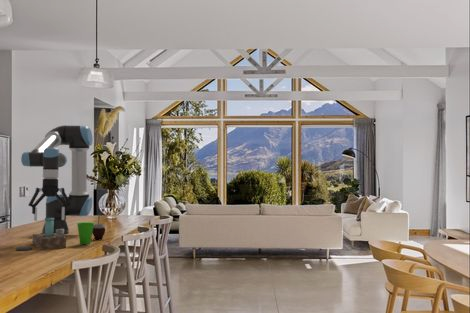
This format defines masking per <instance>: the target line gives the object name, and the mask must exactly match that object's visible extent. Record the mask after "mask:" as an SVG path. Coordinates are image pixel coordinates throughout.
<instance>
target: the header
mask: <svg viewBox="0 0 470 313" xmlns="http://www.w3.org/2000/svg"><path fill="white" fill-rule="evenodd" d="M31 241H32V245H34V246H35V247H36V248H38V249H40V250H48V249H49V250H50V249H51V250H52V248H53V249H65V248H66V249H67V237H65V234H64V229H56V233H53V236H51V237H45V234H42V233H32V240H31Z"/></svg>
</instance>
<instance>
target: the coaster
mask: <svg viewBox="0 0 470 313" xmlns="http://www.w3.org/2000/svg"><path fill="white" fill-rule="evenodd" d="M32 249H33V247H32V246H18V247H16V249H15V250H16V252H17V251H19V252H20V251H21V252H26V251H27V250H28V251H32Z"/></svg>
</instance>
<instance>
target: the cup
mask: <svg viewBox="0 0 470 313" xmlns="http://www.w3.org/2000/svg"><path fill="white" fill-rule="evenodd" d="M76 225H77V231H78V240H79V244H80V245H81V244H89V245H91V243H92V236H93V233H92V232H93V227H94V225H96V224H95V222H91V221H90V222H89V221H84V222H77V223H76Z"/></svg>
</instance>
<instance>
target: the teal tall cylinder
mask: <svg viewBox="0 0 470 313" xmlns="http://www.w3.org/2000/svg"><path fill="white" fill-rule="evenodd" d="M44 224H45V237H51V236H53V227H54V218H46V217H44Z"/></svg>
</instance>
